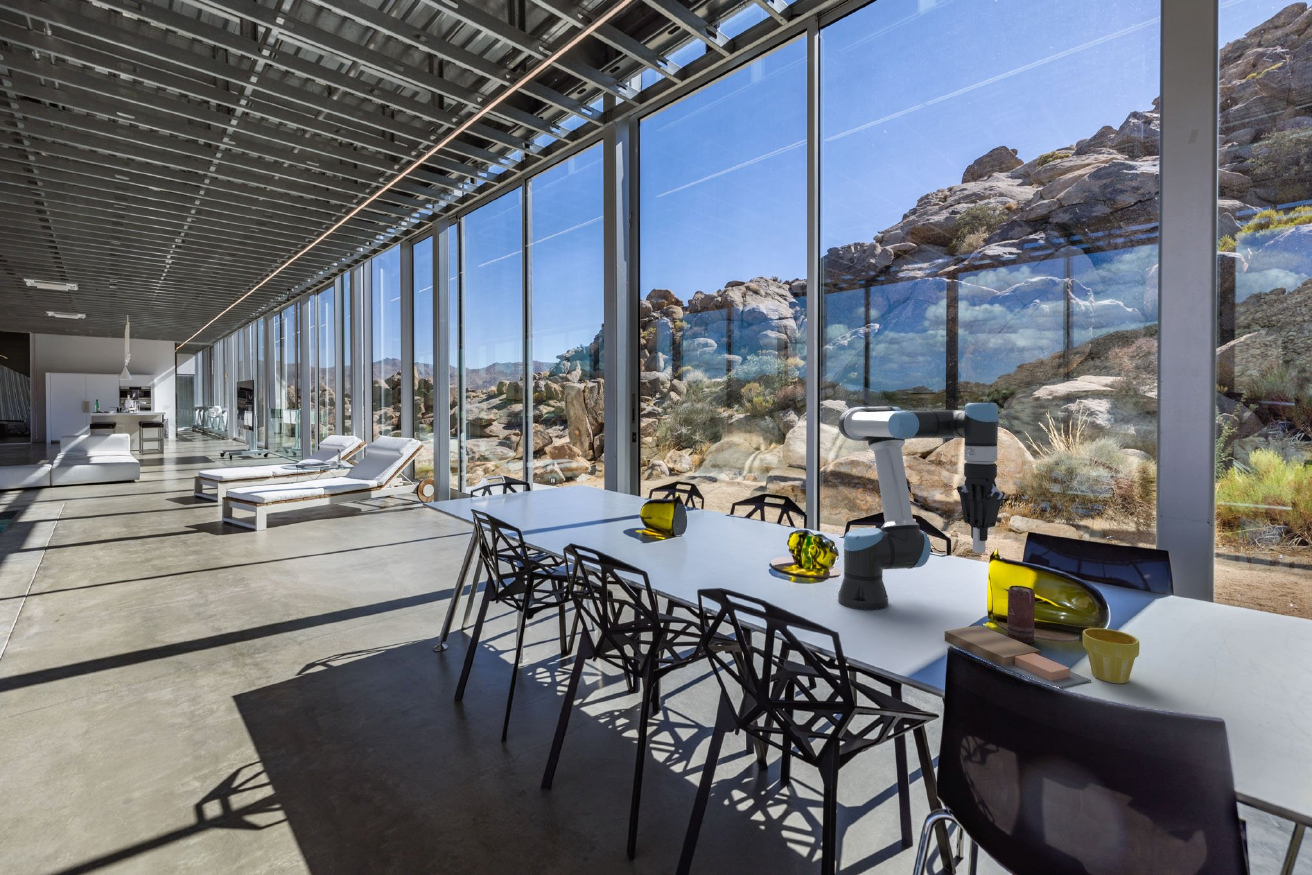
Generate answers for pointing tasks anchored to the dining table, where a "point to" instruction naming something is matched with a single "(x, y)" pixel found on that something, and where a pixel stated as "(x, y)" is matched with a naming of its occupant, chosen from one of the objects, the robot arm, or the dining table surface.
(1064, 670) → the tile
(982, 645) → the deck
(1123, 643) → the plant pot
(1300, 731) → the dining table surface
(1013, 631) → the can
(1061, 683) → the mat
